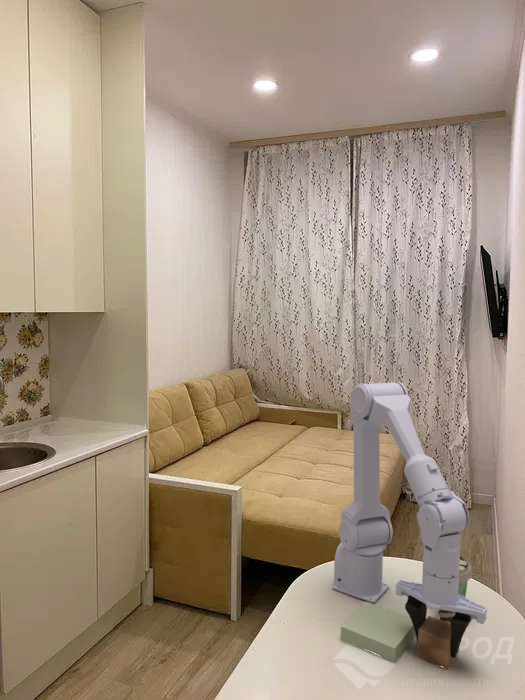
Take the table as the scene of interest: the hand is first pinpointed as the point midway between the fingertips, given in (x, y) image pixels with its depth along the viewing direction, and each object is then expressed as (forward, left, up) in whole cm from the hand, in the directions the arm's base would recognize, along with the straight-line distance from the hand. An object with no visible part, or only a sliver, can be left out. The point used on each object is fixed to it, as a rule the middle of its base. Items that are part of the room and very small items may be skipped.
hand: (437, 647), depth 89 cm
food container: (-2, +16, -2) cm, 16 cm away
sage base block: (-10, -1, -2) cm, 10 cm away
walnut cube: (0, 0, -1) cm, 1 cm away
